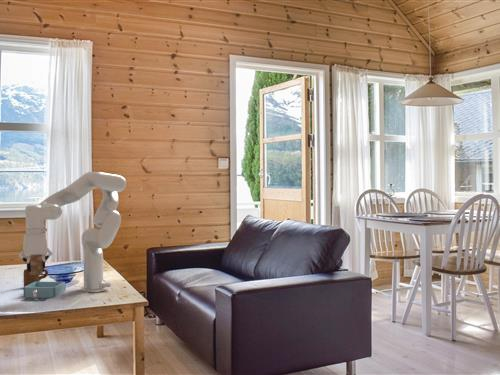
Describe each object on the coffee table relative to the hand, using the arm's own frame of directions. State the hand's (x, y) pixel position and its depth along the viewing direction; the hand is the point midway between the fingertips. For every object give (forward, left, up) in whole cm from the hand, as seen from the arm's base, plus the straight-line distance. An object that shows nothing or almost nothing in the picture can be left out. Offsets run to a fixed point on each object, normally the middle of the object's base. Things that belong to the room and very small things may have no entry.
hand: (36, 270), depth 234 cm
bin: (0, -11, -14) cm, 18 cm away
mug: (+13, -29, -15) cm, 35 cm away
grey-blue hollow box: (0, 0, -14) cm, 14 cm away
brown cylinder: (0, 0, -2) cm, 2 cm away
